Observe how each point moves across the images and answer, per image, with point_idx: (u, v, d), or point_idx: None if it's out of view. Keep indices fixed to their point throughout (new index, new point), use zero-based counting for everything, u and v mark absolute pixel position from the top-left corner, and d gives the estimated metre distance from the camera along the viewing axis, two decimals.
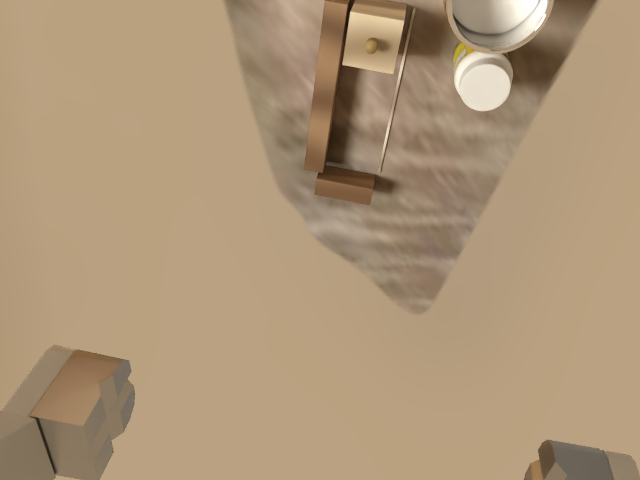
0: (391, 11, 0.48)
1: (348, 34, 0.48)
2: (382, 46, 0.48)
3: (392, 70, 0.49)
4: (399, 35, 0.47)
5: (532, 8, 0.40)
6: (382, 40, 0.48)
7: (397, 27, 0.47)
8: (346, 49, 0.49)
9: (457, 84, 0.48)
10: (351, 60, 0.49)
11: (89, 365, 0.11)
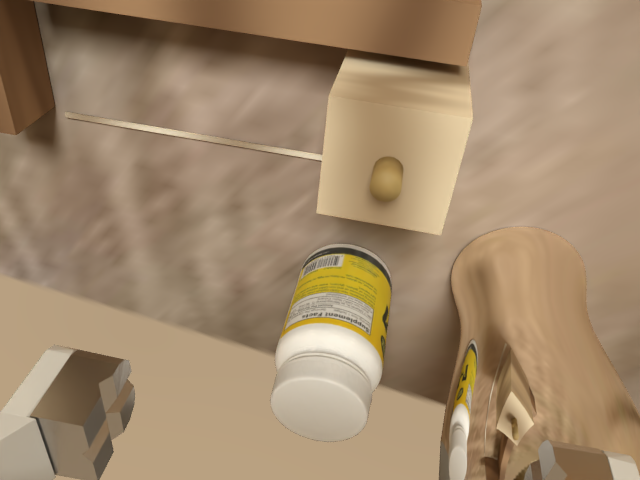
0: None
1: (412, 113, 0.18)
2: None
3: (324, 211, 0.20)
4: (408, 225, 0.20)
5: None
6: None
7: (426, 222, 0.20)
8: (371, 107, 0.18)
9: (311, 338, 0.23)
10: (342, 119, 0.18)
11: (89, 365, 0.11)
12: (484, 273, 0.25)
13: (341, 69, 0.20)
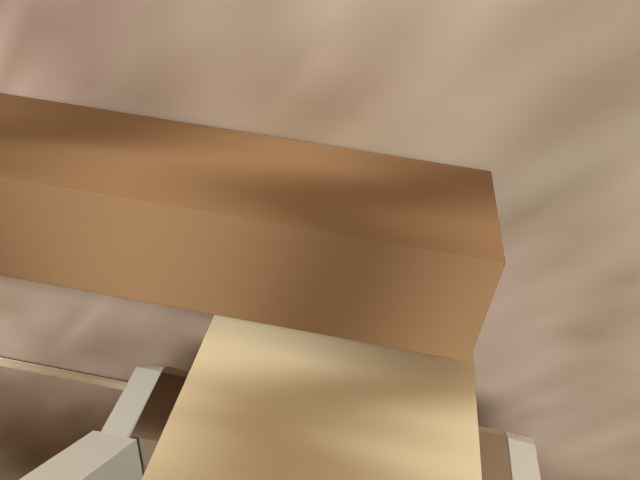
0: None
1: None
2: None
3: None
4: None
5: None
6: None
7: None
8: None
9: None
10: None
11: (181, 383, 0.10)
12: None
13: (196, 365, 0.09)
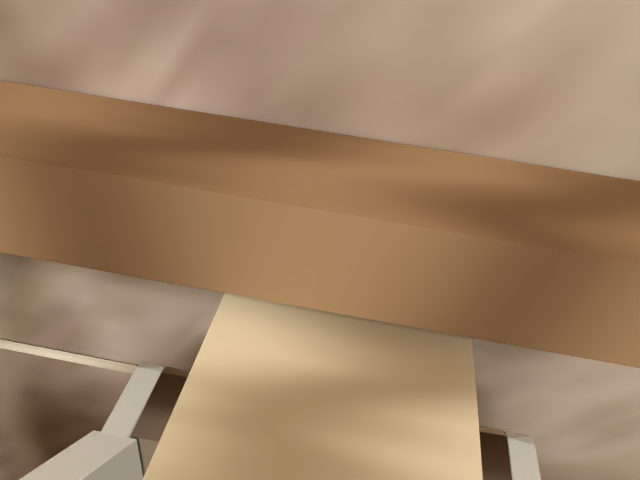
0: None
1: None
2: None
3: None
4: None
5: None
6: None
7: None
8: None
9: None
10: None
11: (181, 383, 0.10)
12: None
13: (196, 365, 0.09)
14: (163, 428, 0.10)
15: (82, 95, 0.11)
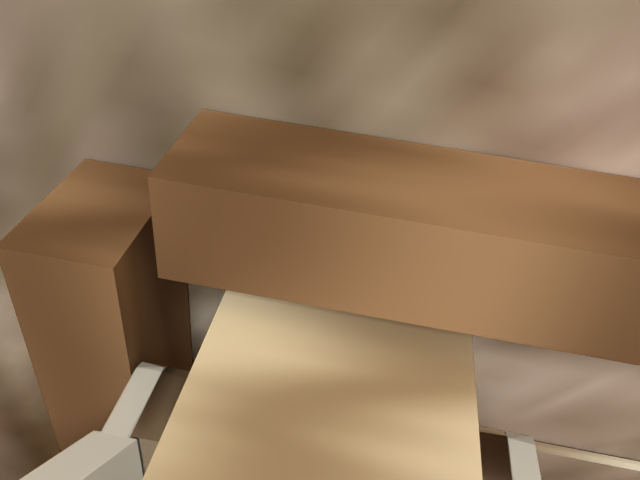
0: None
1: None
2: None
3: None
4: None
5: None
6: None
7: None
8: None
9: None
10: None
11: (181, 383, 0.10)
12: None
13: (196, 365, 0.09)
14: (163, 428, 0.10)
15: (570, 168, 0.10)
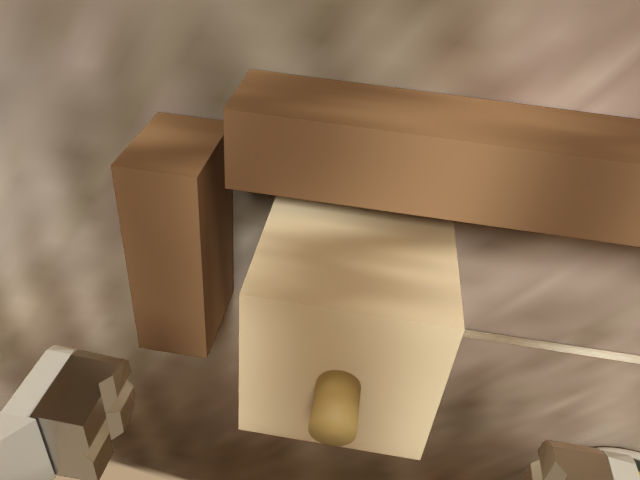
0: None
1: (370, 320, 0.11)
2: None
3: (250, 428, 0.14)
4: (372, 448, 0.14)
5: None
6: None
7: (399, 445, 0.14)
8: (306, 311, 0.11)
9: None
10: (263, 324, 0.12)
11: (89, 365, 0.11)
12: None
13: (266, 228, 0.13)
14: (64, 408, 0.10)
15: (518, 104, 0.14)
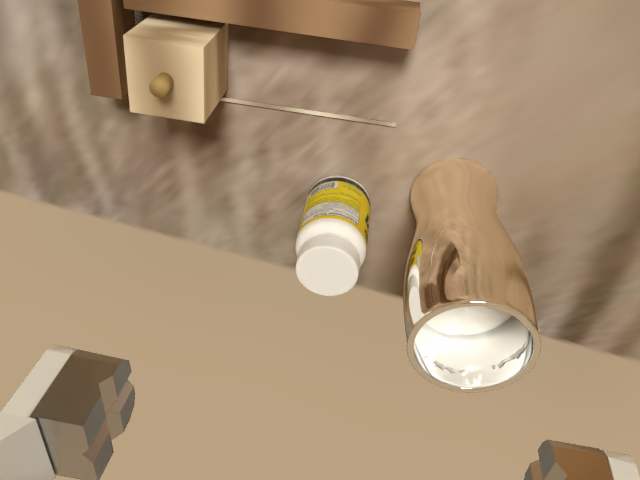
0: (214, 90, 0.35)
1: (170, 45, 0.31)
2: (164, 95, 0.33)
3: (134, 110, 0.34)
4: (184, 118, 0.34)
5: (437, 330, 0.34)
6: (172, 95, 0.33)
7: (194, 115, 0.33)
8: (147, 42, 0.31)
9: (320, 226, 0.36)
10: (133, 50, 0.32)
11: (89, 365, 0.11)
12: (430, 187, 0.38)
13: (140, 23, 0.33)
14: (64, 408, 0.10)
15: None
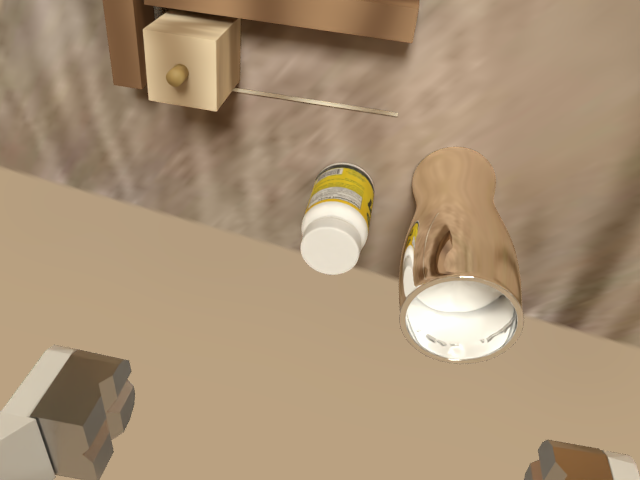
0: (226, 81, 0.37)
1: (185, 38, 0.34)
2: (180, 85, 0.36)
3: (153, 99, 0.37)
4: (198, 106, 0.36)
5: (431, 307, 0.36)
6: (187, 85, 0.36)
7: (207, 103, 0.36)
8: (165, 35, 0.34)
9: (324, 209, 0.38)
10: (152, 42, 0.34)
11: (89, 365, 0.11)
12: (430, 173, 0.40)
13: (158, 18, 0.36)
14: (64, 408, 0.10)
15: None
